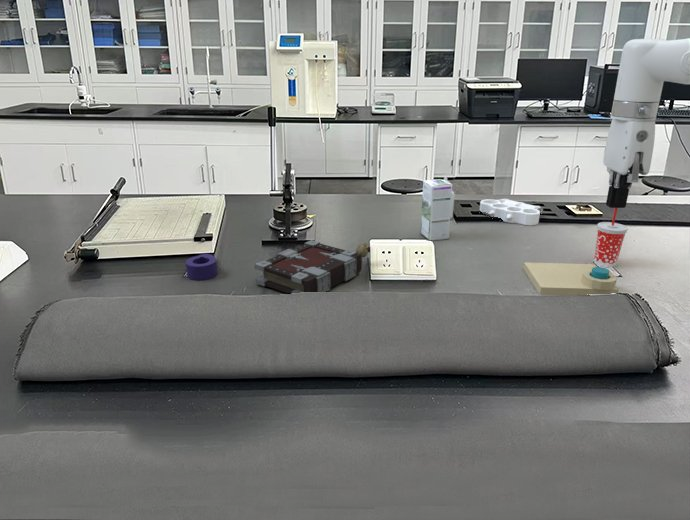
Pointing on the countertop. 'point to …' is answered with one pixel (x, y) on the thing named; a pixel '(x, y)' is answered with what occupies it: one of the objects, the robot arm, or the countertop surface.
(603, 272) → the button
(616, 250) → the beverage cup
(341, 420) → the countertop surface
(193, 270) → the purple thick ring
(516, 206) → the white tube rack
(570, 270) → the scale
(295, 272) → the book
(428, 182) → the syrup box
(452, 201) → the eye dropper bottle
